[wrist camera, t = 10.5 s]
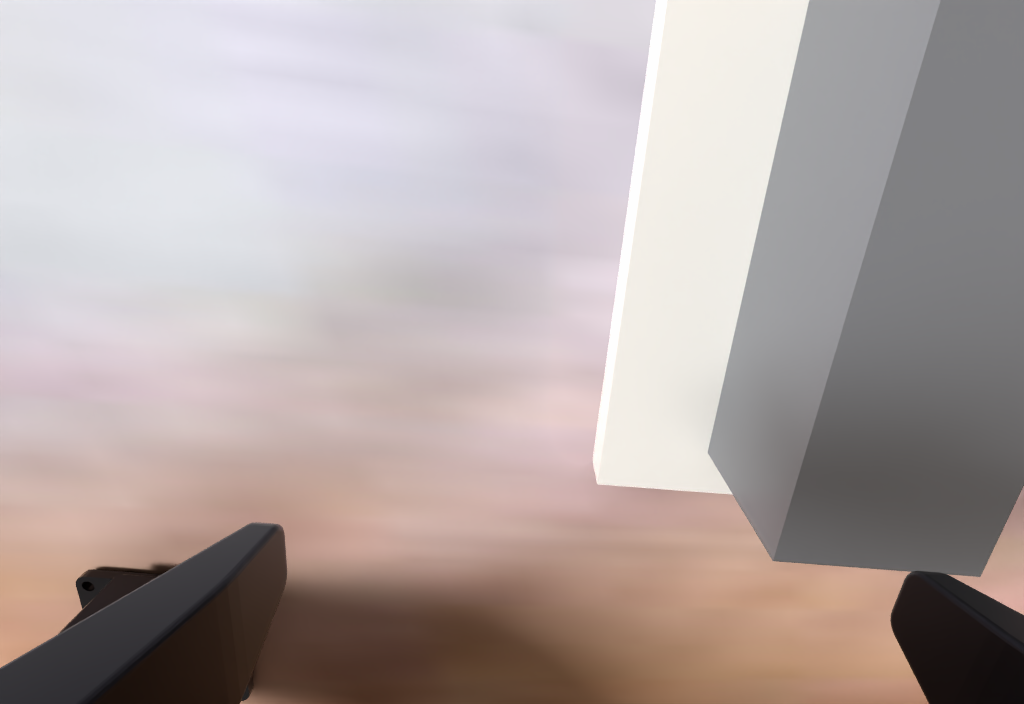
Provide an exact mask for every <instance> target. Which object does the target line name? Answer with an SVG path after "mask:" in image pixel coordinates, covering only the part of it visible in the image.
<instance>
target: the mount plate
mask: <svg viewBox="0 0 1024 704" xmlns="http://www.w3.org/2000/svg"><path fill="white" fill-rule="evenodd" d="M808 4H809V0H656V6H655V13H654V20H653V27H652V34H651V42H650V49H649V56H648V63H647V70H646V78H645V85H644V92H643V99H642V107H641V114H640V121H639V128H638V135H637V143H636V150H635V157H634V164H633V172H632V179H631V186H630V193H629V200H628V208H627V215H626V222H625V229H624V237H623V244H622V251H621V258H620V265H619V273H618V280H617V287H616V294H615V301H614V309H613V316H612V323H611V330H610V338H609V345H608V352H607V359H606V366H605V374H604V381H603V388H602V395H601V403H600V410H599V417H598V424H597V431H596V439H595V446H594V453H593V460H592V461H593V466H594V470H595V475H596V480H597V484H600V485H613V486H626V487H640V488H653V489H666V490H680V491H693V492H707V493H720V494H732V492H731V491H730V489H729V487H728V486H727V484H726V482H725V481H724V479H723V477H722V476H721V474H720V472H719V471H718V469H717V468H716V466H715V464H714V463H713V461H712V459H711V458H710V456H709V454H708V448H709V444H710V439H711V435H712V431H713V426H714V422H715V417H716V413H717V408H718V404H719V399H720V395H721V391H722V386H723V382H724V377H725V373H726V368H727V364H728V359H729V355H730V350H731V346H732V342H733V337H734V333H735V328H736V324H737V319H738V315H739V310H740V306H741V302H742V297H743V293H744V288H745V284H746V279H747V275H748V270H749V266H750V262H751V257H752V253H753V248H754V244H755V239H756V235H757V230H758V226H759V222H760V217H761V213H762V208H763V204H764V199H765V195H766V190H767V186H768V182H769V177H770V173H771V168H772V164H773V159H774V155H775V150H776V146H777V142H778V137H779V133H780V128H781V124H782V119H783V115H784V110H785V106H786V102H787V97H788V93H789V88H790V84H791V79H792V75H793V70H794V66H795V62H796V57H797V53H798V48H799V44H800V39H801V35H802V30H803V26H804V22H805V17H806V13H807V8H808Z"/></svg>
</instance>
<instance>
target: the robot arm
mask: <svg viewBox="0 0 1024 704" xmlns="http://www.w3.org/2000/svg"><path fill="white" fill-rule="evenodd" d="M286 579H287V562H286V548H285V535H284V530H283V528H282V527H281V526H280V525H279V524H270V523H250V524H248V525H246V526H245V527H243V528H241V529H239V530H238V531H236V532H234V533H232V534H231V535H229V536H227V537H226V538H224V539H222V540H220V541H219V542H217V543H215V544H213V545H212V546H210V547H208V548H207V549H205V550H203V551H201V552H200V553H198V554H196V555H194V556H193V557H191V558H189V559H188V560H186V561H184V562H182V563H181V564H179V565H177V566H175V567H174V568H172V569H170V570H169V571H167V572H165V573H163V574H162V575H159V574H146V573H133V572H120V571H107V570H94V569H93V570H88V571H86V572H85V573H83V574H82V575H81V576H80V577H79V578H78V579H77V581H76V587H77V591H78V594H79V598H80V602H81V605H82V610H81V611H80V612H79V613H78V614H77V615H76V616H75V617H74V618H73V619H72V620H71V621H70V622H69V623H68V624H67V625H66V627H65V628H64V629H63V630H62V631H61V632H60V633H59V634H58V635H56V636H55V637H53V638H51V639H49V640H48V641H46V642H44V643H43V644H41V645H39V646H37V647H36V648H34V649H32V650H30V651H29V652H27V653H25V654H24V655H22V656H20V657H18V658H17V659H15V660H13V661H11V662H10V663H8V664H6V665H5V666H3V667H1V668H0V704H240V702H241V701H244V700H246V699H247V698H248V697H249V695H250V694H251V692H252V690H253V686H254V685H253V678H252V672H253V669H254V667H255V664H256V662H257V659H258V656H259V654H260V651H261V648H262V646H263V643H264V640H265V638H266V635H267V633H268V630H269V627H270V625H271V622H272V619H273V617H274V614H275V612H276V609H277V606H278V604H279V601H280V598H281V596H282V593H283V590H284V588H285V584H286ZM891 626H892V630H893V633H894V635H895V637H896V639H897V641H898V643H899V645H900V647H901V649H902V651H903V653H904V655H905V657H906V659H907V661H908V663H909V665H910V667H911V669H912V671H913V673H914V675H915V677H916V679H917V681H918V683H919V685H920V687H921V689H922V691H923V693H924V695H925V696H926V698H927V700H928V702H929V704H1024V615H1022V614H1020V613H1019V612H1017V611H1015V610H1013V609H1011V608H1009V607H1007V606H1005V605H1004V604H1002V603H1000V602H998V601H996V600H994V599H992V598H990V597H988V596H987V595H985V594H983V593H981V592H979V591H977V590H975V589H973V588H972V587H970V586H968V585H966V584H964V583H962V582H960V581H958V580H956V579H955V578H953V577H951V576H949V575H947V574H944V573H940V572H928V571H913V572H911V573H910V574H908V575H907V576H906V578H905V580H904V583H903V585H902V588H901V590H900V593H899V595H898V597H897V600H896V602H895V605H894V607H893V610H892V613H891Z"/></svg>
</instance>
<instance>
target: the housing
mask: <svg viewBox="0 0 1024 704" xmlns="http://www.w3.org/2000/svg"><path fill="white" fill-rule="evenodd" d="M708 454H709V456H710V458H711V459H712V461H713V463H714V464H715V466H716V468H717V469H718V471H719V472H720V474H721V476H722V477H723V479H724V481H725V482H726V484H727V486H728V487H729V489H730V491H731V492H732V494H733V496H734V497H735V499H736V501H737V502H738V504H739V506H740V507H741V509H742V511H743V512H744V514H745V516H746V517H747V519H748V520H749V522H750V524H751V525H752V527H753V529H754V530H755V532H756V534H757V535H758V537H759V539H760V540H761V542H762V544H763V545H764V547H765V549H766V550H767V552H768V554H769V555H770V557H771V559H772V560H773V561H779V562H792V563H805V564H818V565H832V566H845V567H858V568H871V569H884V570H897V571H911V572H913V571H928V572H940V573H944V574H950V575H963V576H977V577H980V576H981V574H982V572H983V570H984V568H985V566H986V564H987V562H988V559H989V557H990V555H991V553H992V551H993V549H994V547H995V545H996V543H997V541H998V538H999V536H1000V534H1001V532H1002V530H1003V528H1004V526H1005V524H1006V522H1007V519H1008V517H1009V515H1010V513H1011V511H1012V509H1013V507H1014V505H1015V503H1016V501H1017V498H1018V496H1019V494H1020V492H1021V490H1022V488H1023V486H1024V0H809V4H808V8H807V13H806V17H805V22H804V26H803V30H802V35H801V39H800V44H799V48H798V53H797V57H796V62H795V66H794V70H793V75H792V79H791V84H790V88H789V93H788V97H787V102H786V106H785V110H784V115H783V119H782V124H781V128H780V133H779V137H778V142H777V146H776V150H775V155H774V159H773V164H772V168H771V173H770V177H769V182H768V186H767V190H766V195H765V199H764V204H763V208H762V213H761V217H760V222H759V226H758V230H757V235H756V239H755V244H754V248H753V253H752V257H751V262H750V266H749V270H748V275H747V279H746V284H745V288H744V293H743V297H742V302H741V306H740V310H739V315H738V319H737V324H736V328H735V333H734V337H733V342H732V346H731V350H730V355H729V359H728V364H727V368H726V373H725V377H724V382H723V386H722V391H721V395H720V399H719V404H718V408H717V413H716V417H715V422H714V426H713V431H712V435H711V439H710V444H709V448H708Z"/></svg>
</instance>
